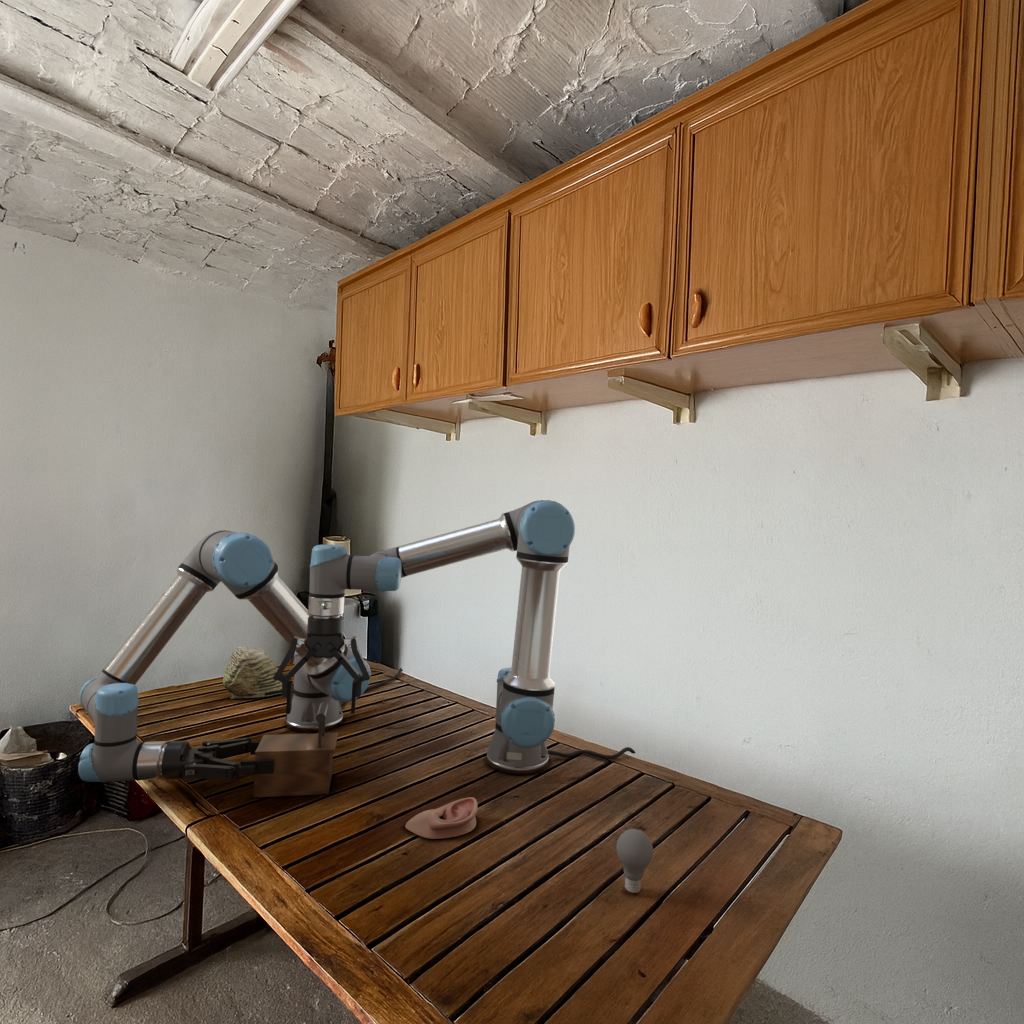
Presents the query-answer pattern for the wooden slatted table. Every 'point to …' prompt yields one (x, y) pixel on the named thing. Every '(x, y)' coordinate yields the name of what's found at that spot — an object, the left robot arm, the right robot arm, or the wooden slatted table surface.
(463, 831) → the anatomical model
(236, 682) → the fossil
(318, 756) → the chest
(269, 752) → the lid
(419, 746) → the wooden slatted table surface
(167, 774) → the left robot arm
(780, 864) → the wooden slatted table surface
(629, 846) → the light bulb
